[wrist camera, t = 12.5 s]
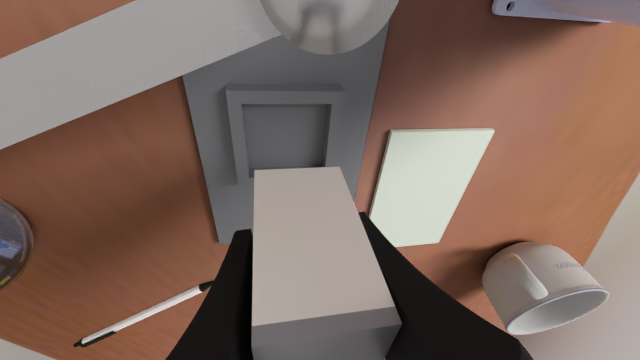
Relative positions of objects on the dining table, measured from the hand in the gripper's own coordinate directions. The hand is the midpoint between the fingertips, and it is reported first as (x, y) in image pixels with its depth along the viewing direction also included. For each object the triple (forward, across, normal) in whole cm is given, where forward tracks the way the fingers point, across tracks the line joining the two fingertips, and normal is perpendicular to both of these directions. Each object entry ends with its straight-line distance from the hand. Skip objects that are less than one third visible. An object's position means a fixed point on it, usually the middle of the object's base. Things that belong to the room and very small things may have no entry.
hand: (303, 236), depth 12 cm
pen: (+10, +18, +20) cm, 29 cm away
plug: (+2, 0, 0) cm, 2 cm away
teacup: (+10, -26, +21) cm, 35 cm away
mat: (+10, -12, +8) cm, 17 cm away
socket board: (+10, 0, 0) cm, 10 cm away
